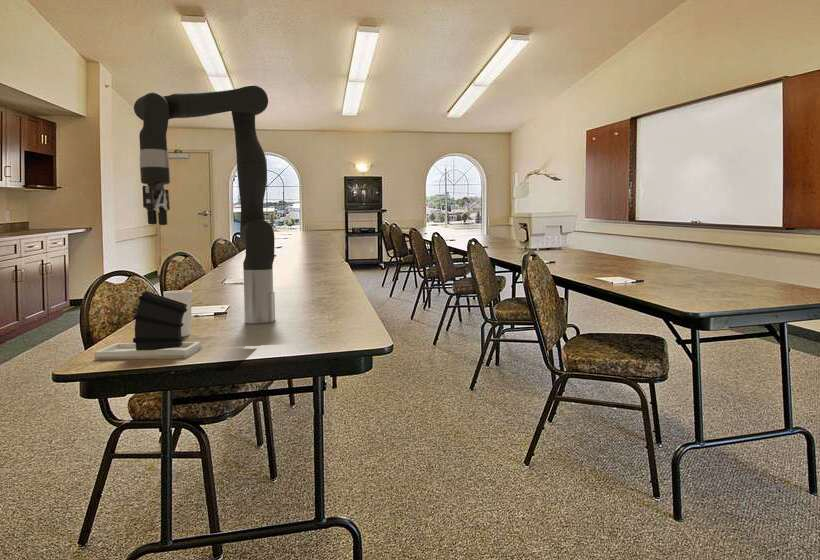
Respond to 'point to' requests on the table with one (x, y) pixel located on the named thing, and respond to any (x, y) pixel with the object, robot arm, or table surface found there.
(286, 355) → the table surface
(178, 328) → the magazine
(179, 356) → the cradle
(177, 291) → the cup
